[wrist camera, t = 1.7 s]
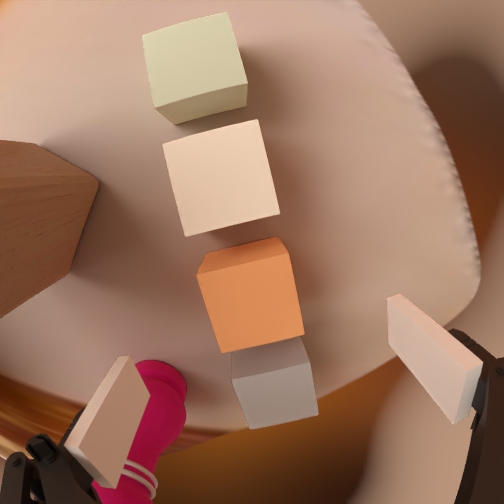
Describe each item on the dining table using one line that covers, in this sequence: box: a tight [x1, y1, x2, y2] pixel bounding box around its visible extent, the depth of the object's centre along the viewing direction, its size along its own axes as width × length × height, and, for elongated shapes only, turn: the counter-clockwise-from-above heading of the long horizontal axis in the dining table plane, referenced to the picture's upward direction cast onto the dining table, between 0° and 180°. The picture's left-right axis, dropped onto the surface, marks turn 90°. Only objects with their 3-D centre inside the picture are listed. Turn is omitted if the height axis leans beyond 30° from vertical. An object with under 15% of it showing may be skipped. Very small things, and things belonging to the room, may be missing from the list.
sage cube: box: [141, 12, 248, 125], centre depth 18 cm, size 6×6×6 cm
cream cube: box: [162, 119, 280, 237], centre depth 20 cm, size 6×6×6 cm
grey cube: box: [231, 336, 319, 429], centre depth 24 cm, size 6×6×6 cm
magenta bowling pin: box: [92, 360, 187, 504], centre depth 18 cm, size 7×7×20 cm
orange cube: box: [196, 236, 305, 353], centre depth 22 cm, size 6×6×6 cm
